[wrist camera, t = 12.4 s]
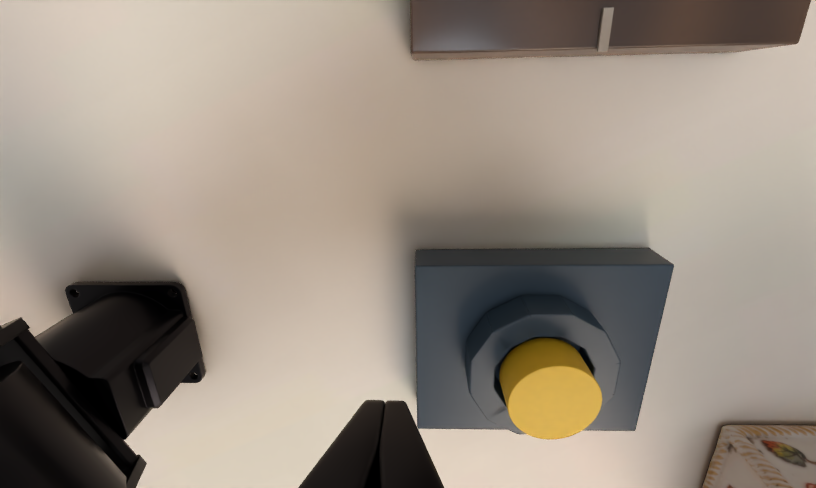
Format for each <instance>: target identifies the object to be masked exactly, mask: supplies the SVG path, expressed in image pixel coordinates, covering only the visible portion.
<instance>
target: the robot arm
mask: <svg viewBox="0 0 816 488" xmlns="http://www.w3.org/2000/svg"><path fill="white" fill-rule="evenodd" d="M172 289H174V290H175V291H176V292H177V294H176V293H174V292H173V291H172ZM76 290H77V291H78V292H79V293H78V292H77V291H76ZM65 292H66V296H67V298H68V301H69V304H70V307H71V309H72V312H73V314H71V315H69V316H68V317H66V318H65V319H63V320H61V321H60V322H58V323H57V324H55V325H53V326H52V327H50V328H49V329H47V330H45V331H44V332H42V333H40V334H39V335H37V336H36V337H34V336H33V335H32V334H31V333H30V331H29V330H28V329H29V328H30V327H29V326H28V325H27V324H26V322H25V321H24V320H23V319H22V318H21V317H20V318H18V319H16V320H13V321H11V322H9V323H6V324H4V325H2V326H0V488H136V486H137V484H138V481H139V479H140V477H141V475H142V473H143V470H144V468H145V466H146V462H145V461H144V459H143V458H142V457H141V456H140V455H136V454H135V453H134V452H133V450H132V449H131V448H130V447H129V446H128V445H127V443H126V442H125V441H124V439H126V438H127V437H128V436H129V435H130V434H131V433H132V431H133V430H134V429H135V428H136V427H137V426H138V424H139V423H140V422H141V421H142V420H143V419H144V417H145V416H146V415H147V414H148V413H149V412H150V411H151V409H152V408H159V407H160V406H161V405H162V404H163V403H164V401H165V400H166V399H167V398H168V397H169V396H170V394H171V393H172V392H173V391H174V390H175V388H176V387H177V386H178V385H179V384H180V383H197V382H200V381H201V380H202V378H203V377H204V376H205V368H204V364H203V360H202V352H201V348H200V344H199V339H198V335H197V331H196V327H195V323H194V320H193V319H192V315H191V311H190V307H189V303H188V299H187V294H186V290H185V288H184V286H183V285H182V284H180V283H179V282H75V283H73V284H71V285H69V286H68V287H66V290H65ZM194 373H196V374H197V375H196V374H194ZM299 488H444V486H443V484H442V482H441V480H440V477H439V475H438V473H437V471H436V468H435V466H434V464H433V462H432V460H431V457H430V455H429V453H428V451H427V449H426V446H425V444H424V442H423V440H422V437H421V435H420V433H419V431H418V429H417V426H416V424H415V422H414V420H413V417H412V415H411V413H410V411H409V409H408V406H407V404H406V403H405V402H404V401H387V402H386V403H385V402H384V401H382V400H366V401H365V402H364V403H363V404H362V405H361V407H360V408H359V409H358V410H357V412H356V413H355V414H354V416H353V417H352V418H351V420H350V421H349V422H348V424H347V425H346V426H345V427H344V429H343V430H342V431H341V433H340V434H339V435H338V437H337V438H336V439H335V441H334V442H333V443H332V444H331V446H330V447H329V448H328V450H327V451H326V452H325V454H324V455H323V456H322V458H321V459H320V460H319V462H318V463H317V464H316V465H315V467H314V468H313V469H312V471H311V472H310V473H309V475H308V476H307V477H306V479H305V480H304V481H303V482H302V484H301V485H300V486H299Z"/></svg>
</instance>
